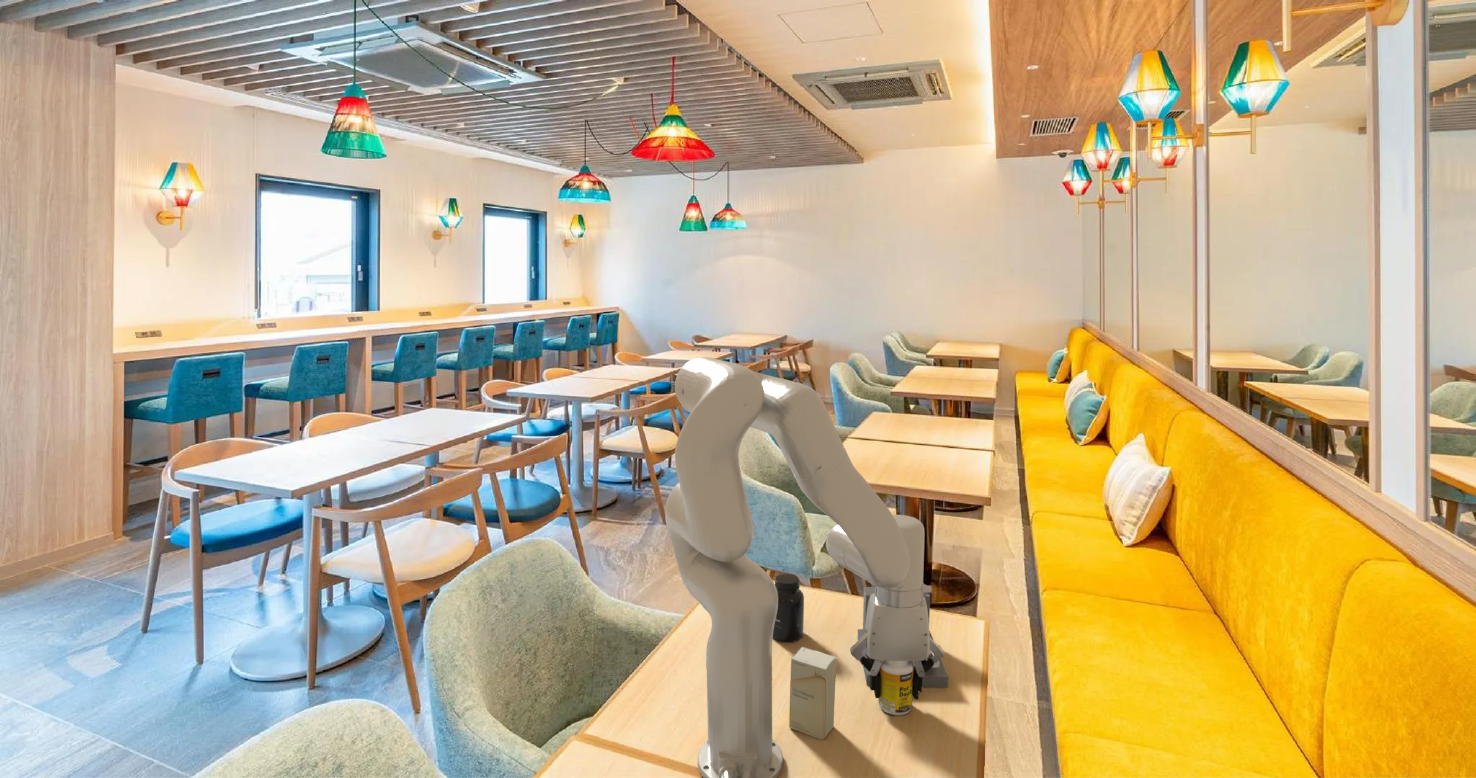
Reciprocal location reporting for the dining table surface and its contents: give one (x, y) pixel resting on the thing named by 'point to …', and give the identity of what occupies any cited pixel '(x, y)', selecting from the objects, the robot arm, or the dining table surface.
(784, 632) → the supplement bottle
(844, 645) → the dining table surface
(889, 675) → the supplement bottle
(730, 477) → the robot arm
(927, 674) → the scale base
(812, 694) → the skincare box
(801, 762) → the dining table surface
